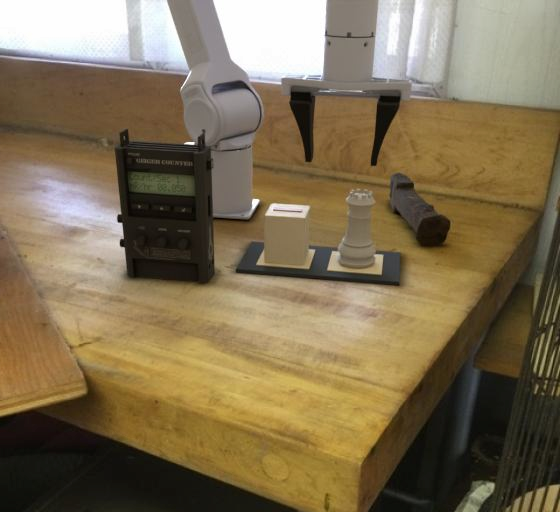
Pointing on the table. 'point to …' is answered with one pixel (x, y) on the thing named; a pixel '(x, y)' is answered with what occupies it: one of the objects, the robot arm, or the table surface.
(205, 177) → the geiger counter
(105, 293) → the table surface
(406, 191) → the hand tool
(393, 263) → the word mat
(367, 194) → the rook chess piece
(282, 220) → the slotted ballot box
